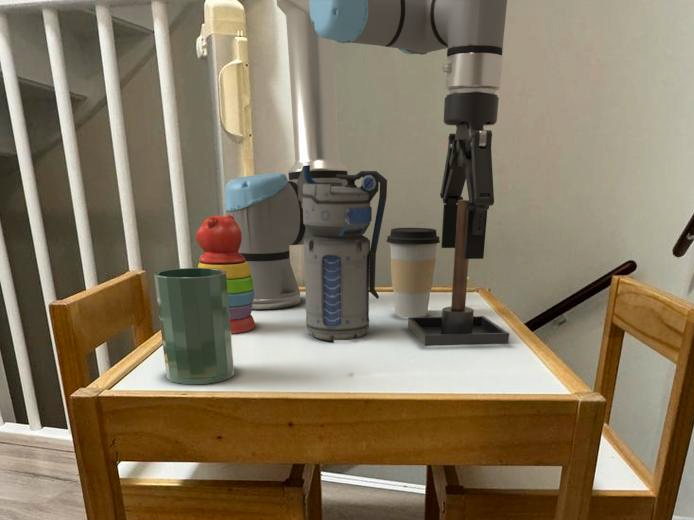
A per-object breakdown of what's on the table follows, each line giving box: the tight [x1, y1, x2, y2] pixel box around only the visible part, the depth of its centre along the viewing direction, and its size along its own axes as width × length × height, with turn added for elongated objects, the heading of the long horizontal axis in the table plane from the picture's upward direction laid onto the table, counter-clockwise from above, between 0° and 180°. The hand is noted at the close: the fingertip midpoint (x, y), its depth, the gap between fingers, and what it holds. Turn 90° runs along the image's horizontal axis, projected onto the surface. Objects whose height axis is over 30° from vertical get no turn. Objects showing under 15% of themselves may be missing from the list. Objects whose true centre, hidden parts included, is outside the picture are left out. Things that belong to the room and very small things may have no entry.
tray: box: [407, 315, 510, 347], centre depth 107 cm, size 13×13×2 cm
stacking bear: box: [195, 215, 256, 334], centre depth 109 cm, size 11×10×18 cm
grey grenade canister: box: [298, 165, 388, 342], centre depth 103 cm, size 10×13×25 cm
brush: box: [441, 199, 475, 334], centre depth 103 cm, size 5×5×20 cm
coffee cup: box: [386, 227, 441, 318], centre depth 119 cm, size 9×9×15 cm
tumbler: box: [153, 267, 235, 385], centre depth 85 cm, size 9×9×13 cm
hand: (461, 253), depth 102 cm, fingers open, 13 cm apart
